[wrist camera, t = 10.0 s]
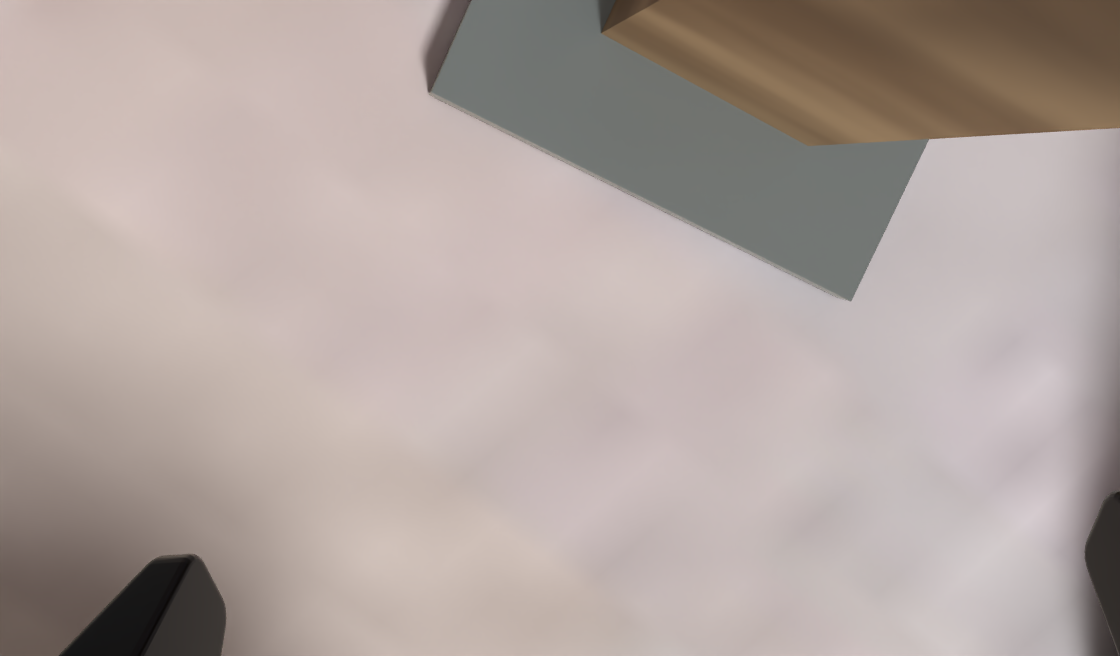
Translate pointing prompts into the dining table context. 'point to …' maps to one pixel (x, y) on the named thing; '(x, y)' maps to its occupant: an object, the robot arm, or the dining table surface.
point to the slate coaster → (673, 139)
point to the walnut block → (890, 63)
